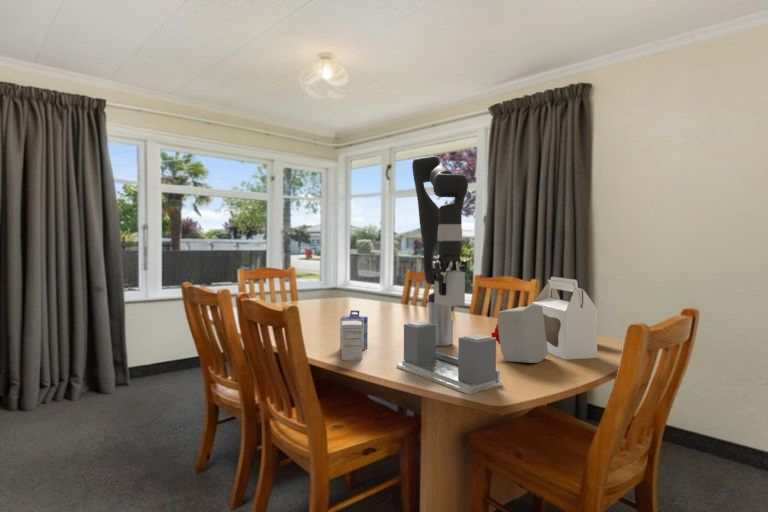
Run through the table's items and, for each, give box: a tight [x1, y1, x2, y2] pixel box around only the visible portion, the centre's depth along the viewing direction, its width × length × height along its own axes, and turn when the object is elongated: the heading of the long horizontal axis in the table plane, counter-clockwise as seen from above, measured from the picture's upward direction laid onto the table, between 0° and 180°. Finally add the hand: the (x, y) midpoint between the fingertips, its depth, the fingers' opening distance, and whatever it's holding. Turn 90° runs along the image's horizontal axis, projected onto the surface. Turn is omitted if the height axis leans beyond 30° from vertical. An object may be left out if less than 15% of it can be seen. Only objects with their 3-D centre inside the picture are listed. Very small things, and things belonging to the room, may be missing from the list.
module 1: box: [403, 321, 437, 365], centre depth 146 cm, size 8×7×12 cm
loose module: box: [434, 270, 466, 307], centre depth 136 cm, size 5×8×10 cm, turn 37°
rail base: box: [396, 351, 503, 395], centre depth 137 cm, size 14×32×4 cm, turn 36°
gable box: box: [531, 276, 599, 361], centre depth 167 cm, size 22×13×28 cm, turn 12°
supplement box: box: [341, 321, 363, 361], centre depth 157 cm, size 7×7×13 cm
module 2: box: [457, 333, 497, 386], centre depth 126 cm, size 8×7×12 cm
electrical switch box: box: [491, 304, 549, 364], centre depth 158 cm, size 15×15×20 cm
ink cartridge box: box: [339, 309, 369, 351], centre depth 171 cm, size 10×6×14 cm, turn 78°
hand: (449, 294), depth 136 cm, fingers closed on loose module, 5 cm apart
